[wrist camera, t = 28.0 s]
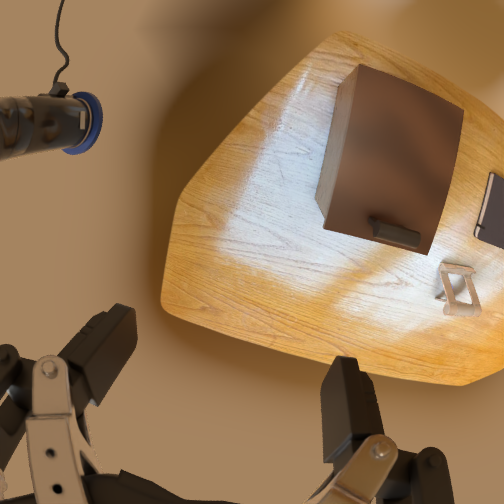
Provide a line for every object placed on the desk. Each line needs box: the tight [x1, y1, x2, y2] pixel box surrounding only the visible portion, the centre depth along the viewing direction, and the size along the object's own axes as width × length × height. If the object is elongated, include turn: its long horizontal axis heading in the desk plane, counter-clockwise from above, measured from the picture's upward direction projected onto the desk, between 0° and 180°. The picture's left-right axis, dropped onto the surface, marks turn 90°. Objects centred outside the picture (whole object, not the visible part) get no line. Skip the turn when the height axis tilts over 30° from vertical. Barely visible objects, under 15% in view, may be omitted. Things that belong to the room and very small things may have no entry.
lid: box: [323, 64, 464, 255], centre depth 24 cm, size 19×14×5 cm
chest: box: [315, 67, 357, 218], centre depth 32 cm, size 18×14×12 cm
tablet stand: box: [435, 263, 482, 317], centre depth 39 cm, size 9×8×8 cm
